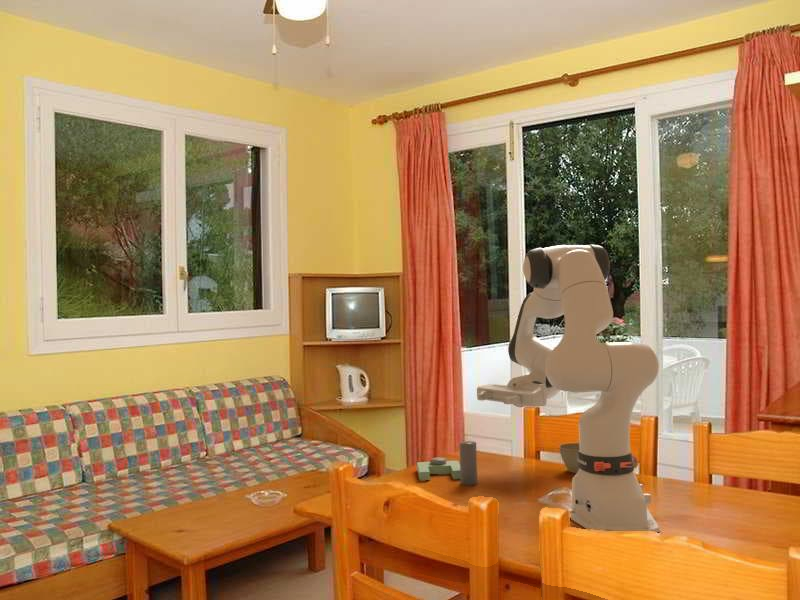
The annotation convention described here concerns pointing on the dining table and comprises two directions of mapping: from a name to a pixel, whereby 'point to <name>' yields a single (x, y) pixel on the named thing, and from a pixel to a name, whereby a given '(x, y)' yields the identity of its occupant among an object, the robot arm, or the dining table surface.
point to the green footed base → (438, 468)
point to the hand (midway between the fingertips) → (492, 399)
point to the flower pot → (570, 456)
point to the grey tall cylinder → (468, 463)
